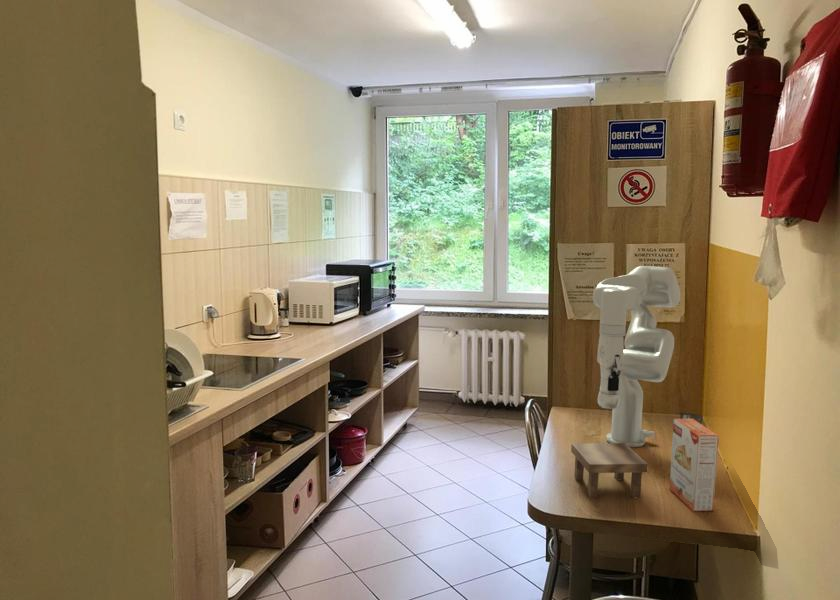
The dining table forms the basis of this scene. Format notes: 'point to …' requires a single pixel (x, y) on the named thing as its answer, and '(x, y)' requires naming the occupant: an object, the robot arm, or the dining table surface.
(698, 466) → the cracker box
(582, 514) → the dining table surface
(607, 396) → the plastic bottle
